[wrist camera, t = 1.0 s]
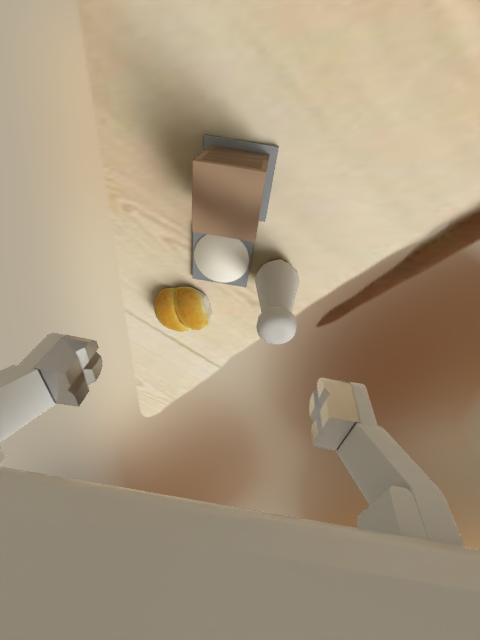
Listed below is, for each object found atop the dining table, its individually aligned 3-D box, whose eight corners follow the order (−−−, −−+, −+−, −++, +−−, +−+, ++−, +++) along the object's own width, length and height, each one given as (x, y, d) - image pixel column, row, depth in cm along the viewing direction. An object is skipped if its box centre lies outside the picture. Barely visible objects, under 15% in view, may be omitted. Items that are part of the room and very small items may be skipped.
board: (204, 134, 30) (192, 142, 26) (278, 146, 30) (277, 156, 26) (202, 209, 35) (191, 226, 31) (265, 219, 35) (262, 238, 31)
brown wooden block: (210, 145, 30) (192, 160, 24) (269, 154, 30) (266, 172, 24) (208, 205, 34) (191, 231, 28) (259, 214, 34) (254, 242, 28)
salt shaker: (250, 280, 41) (240, 342, 31) (266, 246, 38) (260, 304, 28) (287, 294, 42) (288, 358, 32) (305, 262, 38) (314, 324, 29)
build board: (194, 223, 37) (192, 225, 36) (254, 233, 37) (254, 236, 36) (193, 276, 42) (192, 278, 41) (246, 285, 42) (246, 287, 41)
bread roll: (150, 287, 45) (140, 302, 41) (203, 280, 43) (197, 296, 40) (168, 327, 50) (161, 342, 46) (217, 322, 48) (212, 338, 45)
